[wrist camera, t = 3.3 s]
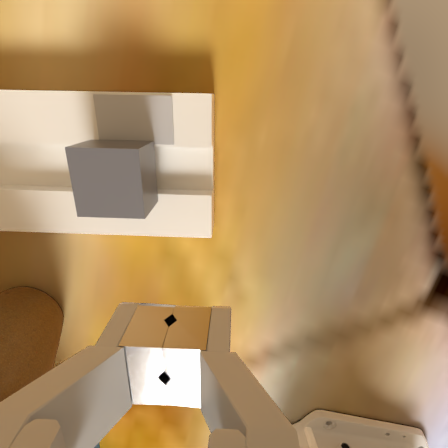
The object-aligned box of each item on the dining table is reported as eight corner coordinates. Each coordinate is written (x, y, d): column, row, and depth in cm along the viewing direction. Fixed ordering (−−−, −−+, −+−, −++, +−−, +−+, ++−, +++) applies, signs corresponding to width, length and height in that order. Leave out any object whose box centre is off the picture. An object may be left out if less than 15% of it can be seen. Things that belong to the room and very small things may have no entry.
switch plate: (214, 93, 26) (211, 93, 23) (213, 225, 30) (211, 238, 27) (-107, 87, 26) (-150, 86, 23) (-59, 216, 31) (-91, 228, 28)
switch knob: (159, 138, 25) (138, 148, 20) (162, 195, 27) (144, 219, 22) (100, 136, 26) (64, 147, 20) (107, 193, 28) (77, 216, 22)
